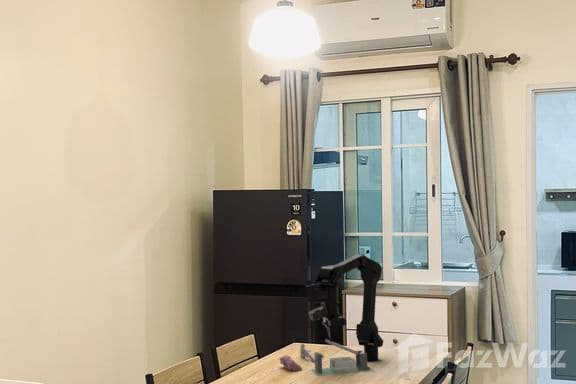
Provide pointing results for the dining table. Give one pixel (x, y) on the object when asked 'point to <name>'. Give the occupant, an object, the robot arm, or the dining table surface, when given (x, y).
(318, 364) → the post
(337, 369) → the heatsink
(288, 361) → the purple rounded piece
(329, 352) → the dining table surface
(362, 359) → the hinge post
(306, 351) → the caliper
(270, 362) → the dining table surface
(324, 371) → the board
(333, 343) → the strap
